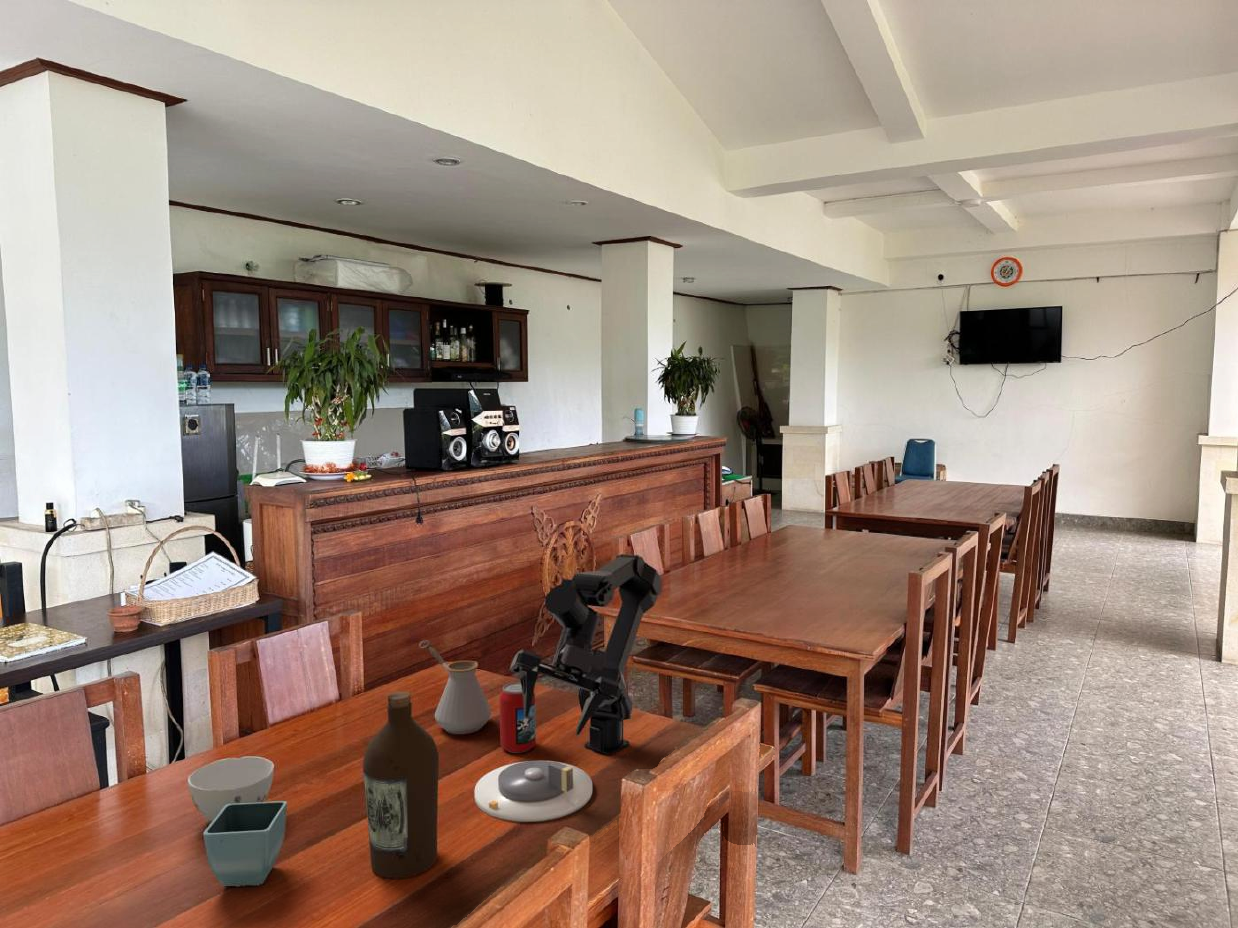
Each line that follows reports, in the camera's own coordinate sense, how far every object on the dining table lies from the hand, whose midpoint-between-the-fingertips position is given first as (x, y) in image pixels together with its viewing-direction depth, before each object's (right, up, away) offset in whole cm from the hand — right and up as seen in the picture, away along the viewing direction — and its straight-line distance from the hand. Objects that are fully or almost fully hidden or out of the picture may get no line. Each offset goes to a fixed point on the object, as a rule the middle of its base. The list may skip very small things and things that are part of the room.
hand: (551, 726), depth 141 cm
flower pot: (-41, -15, -21) cm, 49 cm away
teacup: (-52, -14, -4) cm, 54 cm away
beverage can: (-8, -11, +22) cm, 26 cm away
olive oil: (-20, -15, -17) cm, 30 cm away
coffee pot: (-24, -10, +36) cm, 44 cm away
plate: (-3, -12, +4) cm, 13 cm away
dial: (-2, -11, +3) cm, 12 cm away
